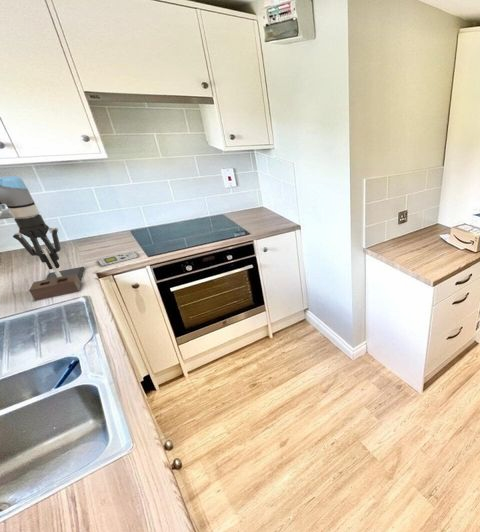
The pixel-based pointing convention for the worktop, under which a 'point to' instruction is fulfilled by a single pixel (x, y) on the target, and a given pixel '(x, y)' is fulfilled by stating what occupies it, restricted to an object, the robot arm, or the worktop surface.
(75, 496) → the worktop surface
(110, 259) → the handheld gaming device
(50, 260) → the stylus
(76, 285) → the slotted brown block
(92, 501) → the worktop surface
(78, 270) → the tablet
